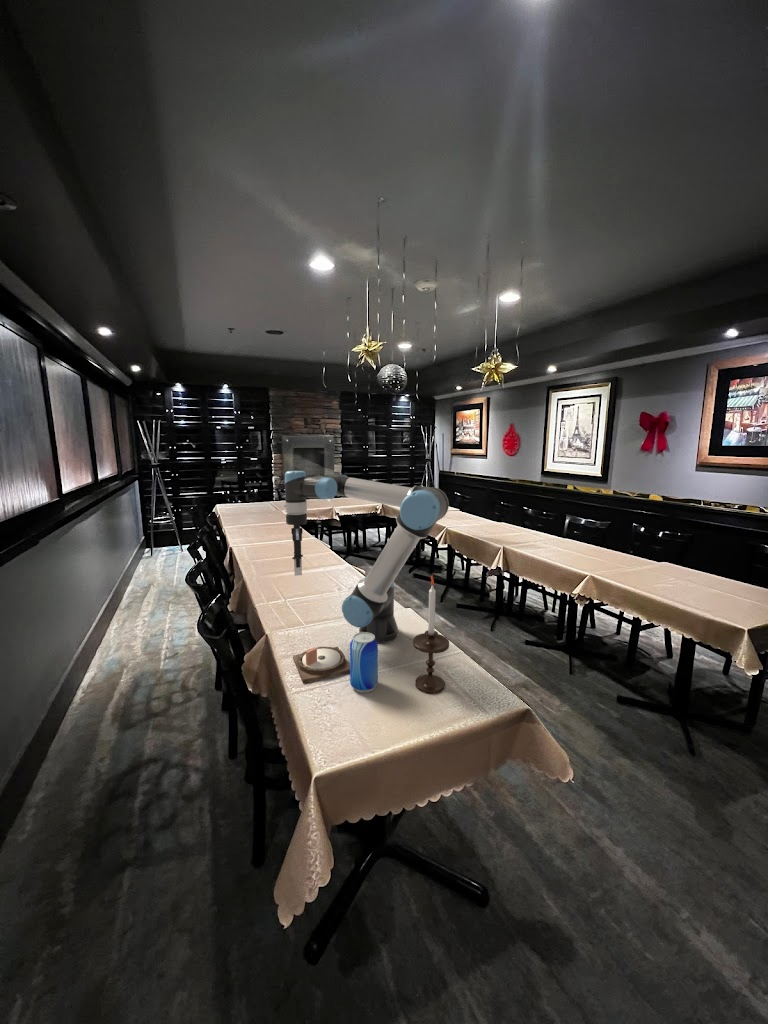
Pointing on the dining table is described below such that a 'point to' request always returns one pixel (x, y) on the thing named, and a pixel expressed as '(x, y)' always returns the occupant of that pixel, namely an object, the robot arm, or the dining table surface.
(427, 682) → the candlestick
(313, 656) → the dial
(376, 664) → the beer can
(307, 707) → the dining table surface
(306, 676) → the dial housing
